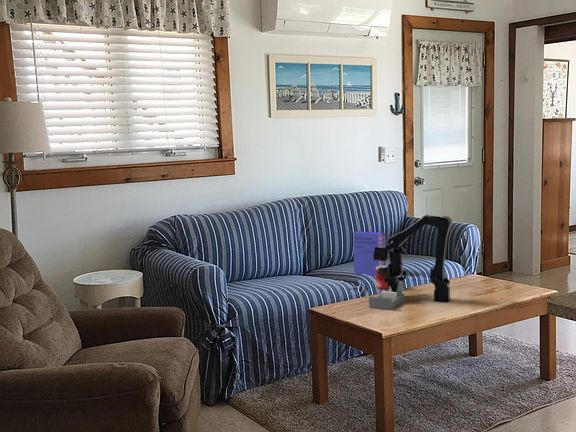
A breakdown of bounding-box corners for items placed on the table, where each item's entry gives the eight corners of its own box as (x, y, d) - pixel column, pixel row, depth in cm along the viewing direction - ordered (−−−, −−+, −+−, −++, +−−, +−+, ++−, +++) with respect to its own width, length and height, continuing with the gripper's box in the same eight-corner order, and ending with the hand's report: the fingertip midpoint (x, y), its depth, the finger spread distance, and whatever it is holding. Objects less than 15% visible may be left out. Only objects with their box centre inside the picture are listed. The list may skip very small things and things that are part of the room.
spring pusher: (396, 301, 304) (396, 292, 303) (396, 302, 303) (396, 292, 302) (381, 300, 307) (381, 291, 307) (381, 300, 306) (381, 291, 306)
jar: (404, 295, 315) (404, 280, 314) (400, 297, 310) (400, 283, 309) (392, 293, 318) (392, 279, 317) (387, 296, 313) (387, 282, 312)
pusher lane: (404, 299, 309) (404, 289, 308) (390, 309, 292) (390, 298, 291) (383, 297, 314) (383, 287, 313) (369, 307, 297) (368, 297, 296)
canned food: (391, 290, 329) (391, 268, 327) (375, 289, 330) (375, 268, 329) (392, 286, 336) (391, 265, 335) (376, 286, 338) (376, 265, 337)
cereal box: (386, 274, 365) (385, 232, 362) (382, 276, 361) (381, 233, 358) (358, 272, 374) (357, 231, 371) (354, 273, 370) (353, 232, 367)
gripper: (386, 257, 324) (387, 287, 326) (372, 264, 308) (373, 296, 309) (408, 258, 318) (408, 289, 320) (395, 265, 302) (395, 298, 304)
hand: (396, 293), depth 314 cm, fingers closed on jar, 6 cm apart
